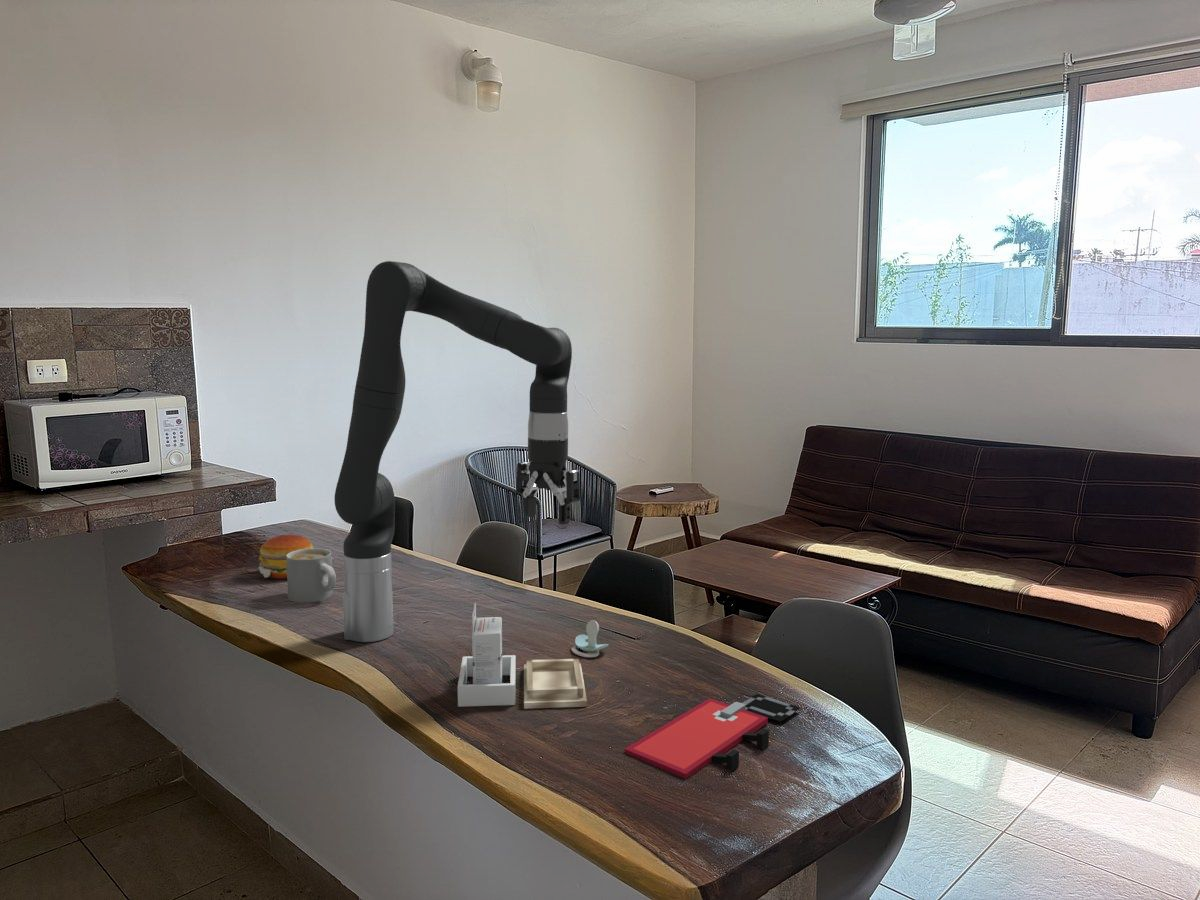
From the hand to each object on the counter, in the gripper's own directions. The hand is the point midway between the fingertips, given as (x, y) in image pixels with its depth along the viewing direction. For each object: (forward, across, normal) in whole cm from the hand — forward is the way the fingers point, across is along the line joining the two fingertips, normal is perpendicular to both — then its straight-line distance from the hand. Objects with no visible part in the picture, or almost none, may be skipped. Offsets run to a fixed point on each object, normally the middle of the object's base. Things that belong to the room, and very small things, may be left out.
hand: (547, 520), depth 163 cm
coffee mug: (+27, -63, -10) cm, 70 cm away
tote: (+26, +4, -19) cm, 33 cm away
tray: (+26, +12, -11) cm, 31 cm away
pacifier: (+27, +6, +6) cm, 28 cm away
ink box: (+27, +4, -19) cm, 33 cm away
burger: (+28, -84, -4) cm, 89 cm away
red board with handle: (+27, +44, -6) cm, 51 cm away
